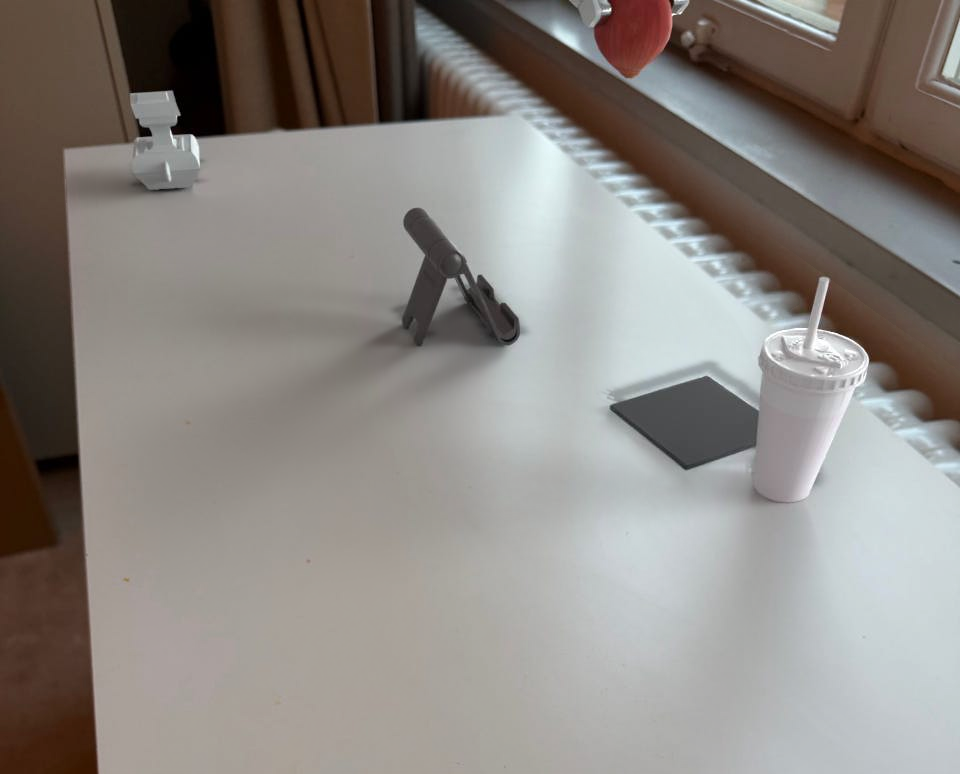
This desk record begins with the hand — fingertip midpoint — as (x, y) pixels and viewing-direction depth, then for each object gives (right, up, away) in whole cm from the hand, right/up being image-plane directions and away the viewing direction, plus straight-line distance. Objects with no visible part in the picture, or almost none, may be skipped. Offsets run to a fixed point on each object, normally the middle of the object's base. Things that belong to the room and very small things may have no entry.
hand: (639, 15), depth 77 cm
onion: (0, -3, +4) cm, 5 cm away
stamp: (-44, +1, +30) cm, 53 cm away
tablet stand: (-14, -21, +7) cm, 26 cm away
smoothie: (+8, -37, -9) cm, 38 cm away
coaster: (+4, -31, -3) cm, 31 cm away
